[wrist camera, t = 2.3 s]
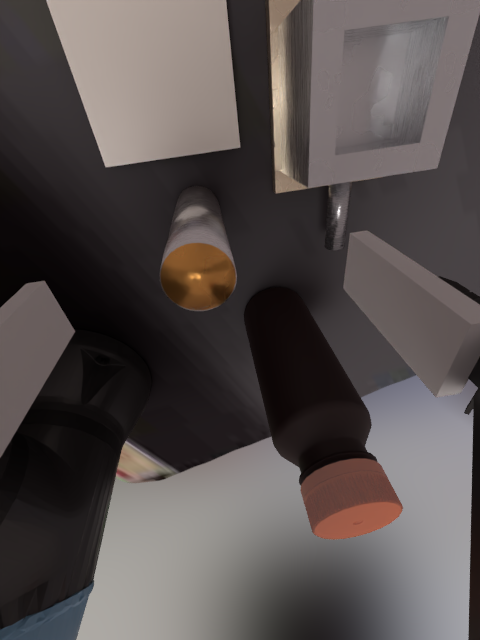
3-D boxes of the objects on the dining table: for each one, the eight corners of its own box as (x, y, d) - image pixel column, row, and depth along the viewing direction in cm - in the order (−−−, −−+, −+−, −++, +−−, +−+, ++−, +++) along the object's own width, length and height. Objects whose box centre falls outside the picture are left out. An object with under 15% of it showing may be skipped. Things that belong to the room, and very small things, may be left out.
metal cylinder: (182, 232, 24) (170, 316, 14) (171, 188, 22) (149, 248, 12) (222, 226, 25) (240, 304, 14) (215, 182, 22) (231, 235, 12)
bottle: (231, 306, 30) (272, 527, 14) (287, 273, 28) (408, 477, 12) (261, 345, 33) (322, 554, 17) (312, 317, 32) (430, 517, 16)
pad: (108, 165, 21) (105, 167, 20) (35, -43, 15) (28, -50, 14) (239, 146, 21) (240, 147, 21) (218, -64, 15) (219, -72, 15)
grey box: (275, 242, 26) (298, 278, 20) (265, -3, 17) (303, -72, 11) (367, 227, 26) (418, 259, 20) (407, -21, 17) (521, -99, 11)
